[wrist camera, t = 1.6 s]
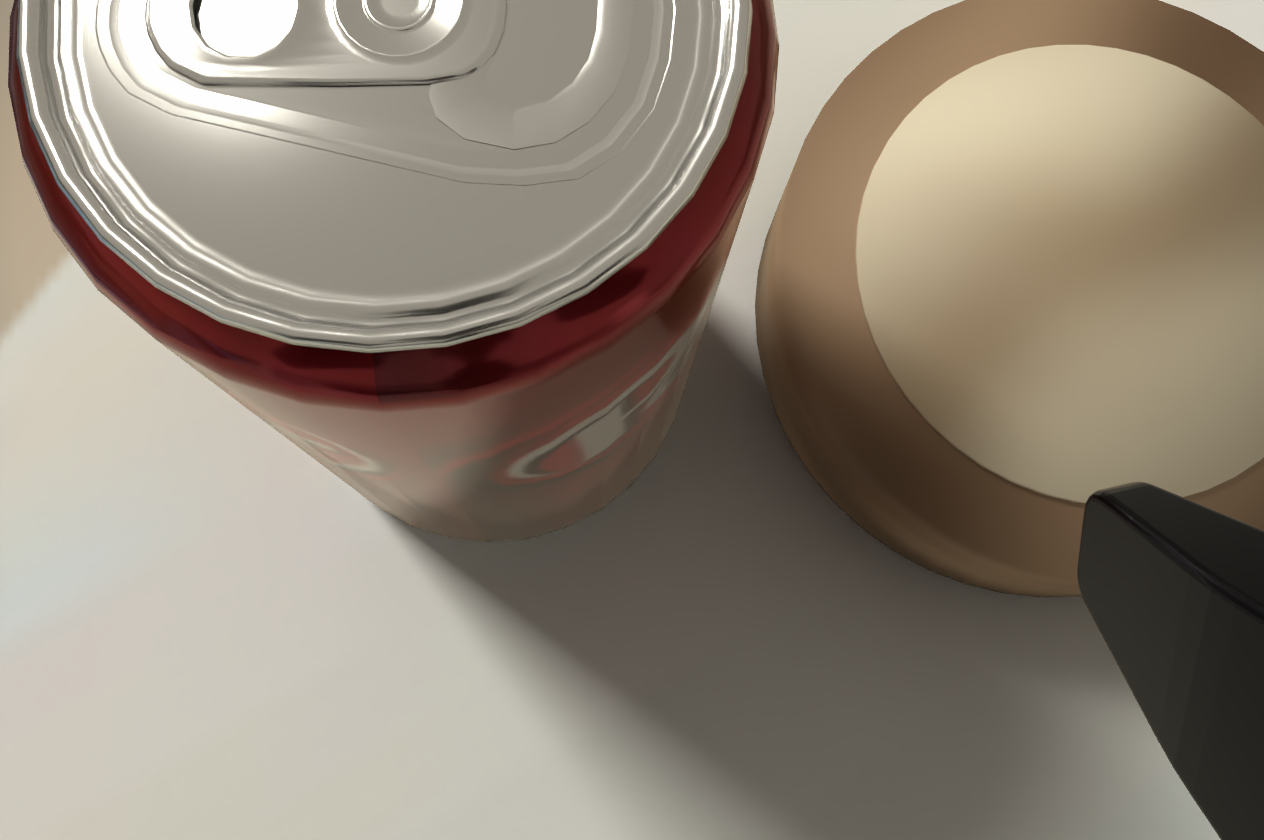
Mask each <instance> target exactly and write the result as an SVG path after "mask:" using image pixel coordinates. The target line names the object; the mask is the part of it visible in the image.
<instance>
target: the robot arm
mask: <svg viewBox="0 0 1264 840" xmlns="http://www.w3.org/2000/svg"><path fill="white" fill-rule="evenodd" d="M1077 576H1078V584H1079V588H1080V592H1081V594H1082V597H1083V600H1084V602H1085V604H1086V606H1087V608H1088V610H1089V611H1090V613H1091V615H1092V617H1093V619H1094V621H1095V623H1096V625H1097V626H1098V628H1099V630H1100V632H1101V634H1102V636H1103V638H1104V640H1105V642H1106V643H1107V645H1108V647H1109V649H1110V651H1111V653H1112V655H1113V657H1114V659H1115V660H1116V662H1117V664H1118V666H1119V668H1120V670H1121V672H1122V674H1123V675H1124V677H1125V679H1126V681H1127V683H1128V685H1129V687H1130V689H1131V691H1132V692H1133V694H1134V696H1135V698H1136V700H1137V702H1138V704H1139V706H1140V708H1141V709H1142V711H1143V713H1144V715H1145V717H1146V719H1147V721H1148V723H1149V724H1150V726H1151V728H1152V730H1153V732H1154V734H1155V736H1156V738H1157V740H1158V741H1159V743H1160V745H1161V747H1162V748H1163V750H1164V752H1165V754H1166V755H1167V757H1168V759H1169V761H1170V762H1171V764H1172V766H1173V768H1174V769H1175V771H1176V772H1177V774H1178V775H1179V777H1180V779H1181V780H1182V782H1183V783H1184V785H1185V786H1186V788H1187V789H1188V791H1189V793H1190V794H1191V796H1192V797H1193V799H1194V800H1195V802H1196V803H1197V805H1198V806H1199V808H1200V809H1201V810H1202V812H1203V813H1204V815H1205V816H1206V818H1207V819H1208V821H1209V822H1210V824H1211V825H1212V827H1213V828H1214V830H1215V831H1216V833H1217V834H1218V836H1219V837H1220V839H1221V840H1264V531H1263V530H1261V529H1259V528H1256V527H1254V526H1251V525H1249V524H1246V523H1244V522H1242V521H1239V520H1237V519H1234V518H1232V517H1229V516H1227V515H1225V514H1222V513H1220V512H1217V511H1215V510H1213V509H1210V508H1208V507H1205V506H1203V505H1200V504H1198V503H1196V502H1193V501H1191V500H1188V499H1186V498H1183V497H1181V496H1179V495H1176V494H1174V493H1171V492H1169V491H1167V490H1164V489H1162V488H1159V487H1157V486H1154V485H1152V484H1149V483H1145V482H1132V483H1128V484H1123V485H1119V486H1115V487H1110V488H1106V489H1102V490H1098V491H1096V492H1094V493H1093V494H1091V495H1090V497H1089V498H1088V500H1087V502H1086V504H1085V509H1084V516H1083V525H1082V533H1081V541H1080V550H1079V558H1078V567H1077Z"/></svg>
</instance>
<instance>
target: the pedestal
mask: <svg viewBox="0 0 1264 840" xmlns="http://www.w3.org/2000/svg"><path fill="white" fill-rule="evenodd" d="M755 314H756V334H757V344H758V349H759V355H760V360H761V365H762V371H763V376H764V379H765V382H766V385H767V388H768V391H769V394H770V397H771V400H772V403H773V406H774V409H775V411H776V413H777V416H778V418H779V420H780V422H781V424H782V426H783V428H784V430H785V432H786V434H787V436H788V439H789V441H790V443H791V444H792V446H793V447H794V449H795V450H796V452H797V453H798V455H799V457H800V458H801V460H802V461H803V463H804V464H805V466H806V467H807V469H808V470H809V472H810V474H811V475H812V476H813V477H814V478H815V480H816V481H817V482H818V483H819V484H820V486H821V487H822V488H823V489H824V490H825V491H826V493H827V494H828V495H829V496H830V497H831V499H832V500H833V501H834V502H835V503H836V504H837V505H838V506H839V507H840V508H841V509H842V510H843V511H844V512H846V513H847V514H848V515H849V516H850V517H851V518H852V519H853V520H854V521H855V522H856V523H857V524H859V525H860V526H861V527H862V528H863V529H864V530H866V531H867V532H868V533H870V534H871V535H873V536H874V537H875V538H877V539H878V540H880V541H881V542H882V543H884V544H885V545H887V546H888V547H889V548H891V549H892V550H894V551H895V552H897V553H899V554H901V555H902V556H904V557H906V558H908V559H910V560H912V561H914V562H915V563H917V564H919V565H921V566H923V567H925V568H927V569H928V570H931V571H933V572H936V573H939V574H941V575H944V576H946V577H949V578H952V579H954V580H957V581H959V582H962V583H965V584H969V585H973V586H977V587H981V588H985V589H989V590H993V591H997V592H1001V593H1010V594H1019V595H1028V596H1036V597H1052V596H1079V595H1082V594H1081V592H1080V588H1079V584H1078V576H1077V567H1078V558H1079V550H1080V541H1081V533H1082V525H1083V516H1084V509H1085V504H1086V502H1087V500H1088V498H1089V497H1090V495H1091V494H1093V493H1094V492H1096V491H1098V490H1102V489H1106V488H1110V487H1115V486H1119V485H1123V484H1128V483H1132V482H1145V483H1149V484H1152V485H1154V486H1157V487H1159V488H1162V489H1164V490H1167V491H1169V492H1171V493H1174V494H1176V495H1179V496H1181V497H1183V498H1186V499H1188V500H1191V501H1193V502H1196V503H1198V504H1200V505H1203V506H1205V507H1208V508H1210V509H1213V510H1215V511H1217V512H1220V513H1222V514H1225V515H1227V516H1229V517H1232V518H1234V519H1237V520H1239V521H1242V522H1244V523H1246V524H1249V525H1251V526H1254V527H1256V528H1259V529H1261V530H1263V531H1264V52H1263V51H1261V50H1259V49H1258V48H1256V47H1255V46H1253V45H1252V44H1250V43H1248V42H1247V41H1245V40H1244V39H1242V38H1241V37H1239V36H1237V35H1236V34H1234V33H1233V32H1231V31H1230V30H1228V29H1226V28H1223V27H1221V26H1219V25H1217V24H1215V23H1213V22H1211V21H1209V20H1207V19H1205V18H1203V17H1201V16H1199V15H1197V14H1195V13H1193V12H1190V11H1187V10H1184V9H1181V8H1179V7H1176V6H1173V5H1170V4H1167V3H1165V2H1162V1H1159V0H965V1H962V2H960V3H957V4H955V5H952V6H950V7H947V8H944V9H942V10H939V11H937V12H934V13H932V14H930V15H928V16H927V17H925V18H923V19H921V20H919V21H917V22H916V23H914V24H912V25H910V26H908V27H907V28H905V29H903V30H901V31H900V32H898V33H897V34H896V35H894V36H893V37H892V38H890V39H889V40H888V41H886V42H885V43H883V44H882V45H881V46H879V47H878V48H877V49H875V50H874V51H873V52H871V53H870V54H869V55H868V56H867V57H866V58H865V59H864V60H863V61H862V62H861V63H860V64H859V65H858V66H857V67H856V68H855V69H854V70H853V71H852V72H851V73H850V74H849V75H848V76H847V77H846V78H845V79H844V81H843V82H842V83H841V85H840V86H839V87H838V88H837V90H836V91H835V92H834V94H833V95H832V96H831V98H830V99H829V100H828V102H827V103H826V104H825V105H824V107H823V108H822V110H821V112H820V114H819V116H818V117H817V119H816V121H815V123H814V125H813V126H812V128H811V130H810V132H809V133H808V135H807V137H806V139H805V141H804V144H803V146H802V149H801V151H800V153H799V156H798V158H797V161H796V163H795V166H794V168H793V171H792V173H791V176H790V178H789V181H788V183H787V186H786V188H785V191H784V193H783V195H782V198H781V200H780V203H779V205H778V208H777V210H776V213H775V216H774V218H773V221H772V223H771V226H770V229H769V231H768V234H767V236H766V239H765V243H764V248H763V252H762V257H761V261H760V265H759V270H758V278H757V289H756V301H755Z"/></svg>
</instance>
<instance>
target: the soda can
mask: <svg viewBox="0 0 1264 840" xmlns="http://www.w3.org/2000/svg"><path fill="white" fill-rule="evenodd" d="M9 40H10V41H9V73H8V87H9V92H10V97H11V102H12V107H13V112H14V117H15V122H16V127H17V132H18V137H19V142H20V147H21V152H22V157H23V162H24V166H25V169H26V171H27V173H28V175H29V177H30V180H31V182H32V184H33V186H34V189H35V190H36V193H37V195H38V197H39V200H40V202H41V204H42V206H43V209H44V211H45V213H46V215H47V217H48V219H49V222H50V224H51V226H52V228H53V231H54V232H55V233H56V235H57V236H58V238H59V239H60V240H61V242H62V243H63V244H64V246H65V247H66V248H67V250H68V251H69V252H70V254H71V255H72V256H73V257H74V259H75V260H76V261H77V263H78V264H79V265H80V267H81V268H82V269H83V271H84V272H85V273H86V275H87V276H88V277H89V279H90V280H91V281H92V283H93V284H94V285H95V287H96V288H97V289H98V290H99V291H100V292H101V293H102V294H103V295H105V296H106V297H107V298H108V299H109V300H110V301H112V302H113V303H114V304H115V305H116V306H117V307H119V308H120V309H121V310H122V311H123V312H124V313H126V314H127V315H128V316H129V317H130V318H131V319H133V320H134V321H135V322H136V323H137V324H138V325H140V326H141V327H142V328H143V329H144V330H145V331H147V332H148V333H149V334H150V335H151V336H152V337H154V338H155V339H156V340H157V341H159V342H160V343H161V344H163V345H164V346H165V347H167V348H168V349H169V350H171V351H172V352H173V353H175V354H176V355H177V356H179V357H180V358H181V359H183V360H184V361H185V362H186V363H188V364H189V365H190V366H192V367H193V368H194V369H196V370H197V371H198V372H200V373H201V374H202V375H204V376H205V377H206V378H208V379H209V380H210V381H212V382H213V383H214V384H216V385H217V386H218V387H220V388H221V389H222V390H224V391H225V392H226V393H228V394H229V395H230V396H232V397H233V398H234V399H236V400H237V401H238V402H240V403H241V404H242V405H243V406H245V407H246V408H247V409H249V410H250V411H251V412H253V413H254V414H255V415H257V416H258V417H259V418H261V419H262V420H263V421H265V422H266V423H267V424H269V425H270V426H271V427H273V428H274V429H275V430H277V431H278V432H279V433H281V434H282V435H283V436H285V437H286V438H287V439H289V440H290V441H291V442H293V443H294V444H295V445H296V446H298V447H299V448H300V449H302V450H303V451H304V452H306V453H307V454H308V455H310V456H311V457H312V458H314V459H315V460H316V461H318V462H319V463H320V464H322V465H323V466H324V467H326V468H327V469H328V470H330V471H331V472H332V473H334V474H335V475H336V476H338V477H339V478H340V479H342V480H343V481H344V482H346V483H347V484H348V485H350V486H351V487H352V488H353V489H355V490H356V491H357V492H359V493H360V494H361V495H363V496H364V497H365V498H367V499H368V500H369V501H371V502H372V503H373V504H375V505H376V506H377V507H379V508H380V509H382V510H384V511H386V512H388V513H390V514H391V515H393V516H395V517H397V518H399V519H400V520H402V521H404V522H406V523H408V524H410V525H411V526H414V527H417V528H420V529H423V530H426V531H430V532H433V533H436V534H439V535H442V536H446V537H449V538H456V539H466V540H475V541H485V542H494V541H505V540H516V539H527V538H531V537H535V536H538V535H541V534H545V533H548V532H552V531H555V530H558V529H562V528H565V527H567V526H569V525H571V524H573V523H575V522H577V521H579V520H581V519H583V518H585V517H587V516H589V515H590V514H592V513H594V512H596V511H598V510H600V509H601V508H603V507H604V506H605V505H606V504H608V503H609V502H610V501H611V500H613V499H614V498H615V497H616V496H618V495H619V494H620V493H621V492H623V491H624V490H625V489H626V488H628V487H629V486H630V485H631V484H632V483H633V482H634V480H635V479H636V478H637V477H638V476H639V474H640V473H641V472H642V471H643V470H644V468H645V467H646V466H647V465H648V464H649V463H650V461H651V460H652V459H653V458H654V457H655V455H656V453H657V451H658V449H659V448H660V446H661V444H662V442H663V440H664V438H665V437H666V435H667V433H668V431H669V429H670V427H671V426H672V424H673V421H674V418H675V415H676V412H677V409H678V406H679V403H680V400H681V397H682V394H683V391H684V388H685V385H686V382H687V379H688V376H689V373H690V370H691V367H692V364H693V361H694V358H695V355H696V352H697V349H698V346H699V343H700V340H701V337H702V334H703V331H704V328H705V325H706V322H707V319H708V316H709V313H710V310H711V307H712V304H713V301H714V297H715V294H716V291H717V288H718V285H719V282H720V279H721V276H722V273H723V270H724V267H725V264H726V261H727V258H728V255H729V252H730V249H731V246H732V243H733V240H734V237H735V234H736V231H737V228H738V225H739V222H740V219H741V216H742V213H743V210H744V207H745V204H746V201H747V198H748V195H749V192H750V189H751V186H752V183H753V180H754V177H755V174H756V170H757V167H758V164H759V160H760V157H761V154H762V150H763V147H764V144H765V141H766V137H767V134H768V131H769V127H770V124H771V121H772V118H773V114H774V104H775V92H776V79H777V66H778V54H779V42H778V35H777V27H776V20H775V13H774V6H773V0H14V4H13V8H12V12H11V16H10V39H9Z"/></svg>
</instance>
